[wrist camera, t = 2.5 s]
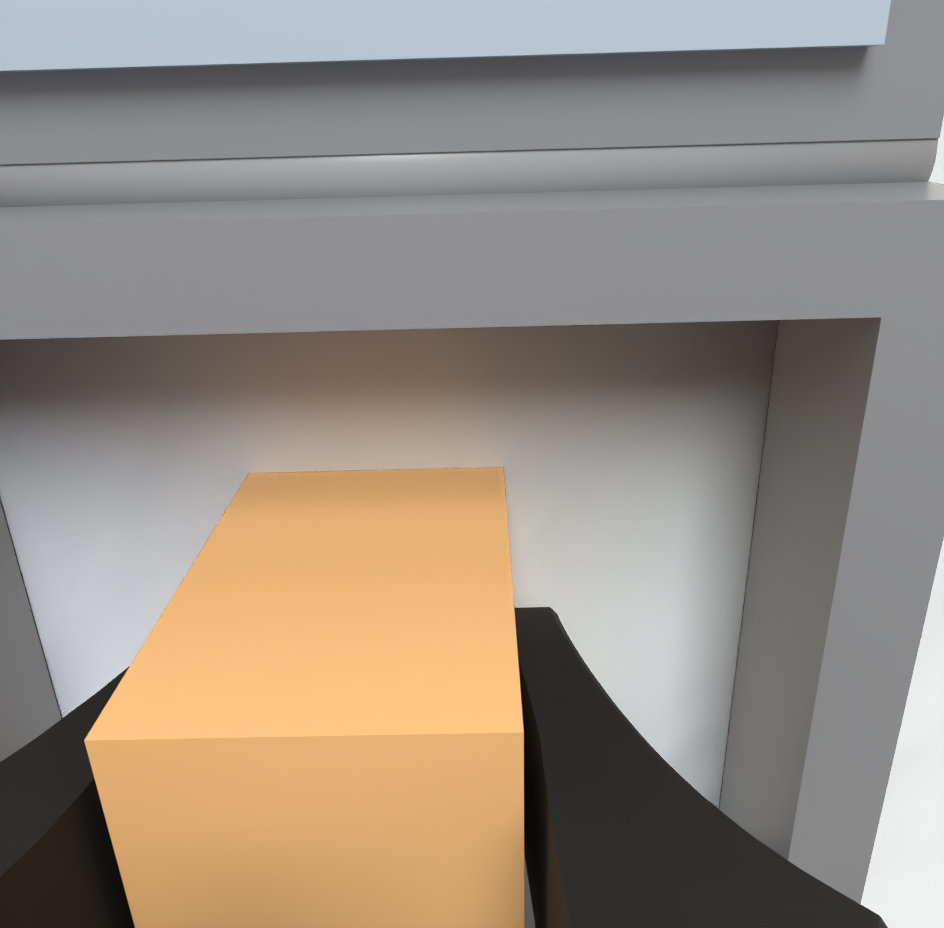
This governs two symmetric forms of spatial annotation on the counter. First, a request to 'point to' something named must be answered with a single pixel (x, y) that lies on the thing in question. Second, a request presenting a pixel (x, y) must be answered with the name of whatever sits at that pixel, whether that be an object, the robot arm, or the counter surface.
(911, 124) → the grey framed tray
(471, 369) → the counter surface
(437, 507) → the block
